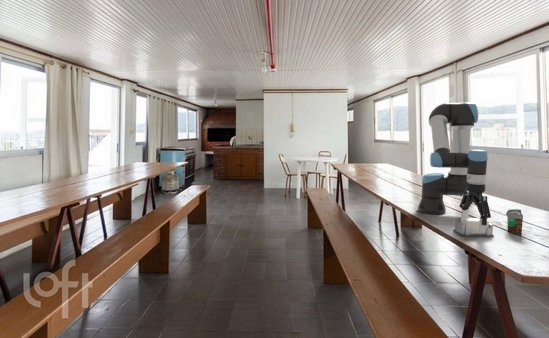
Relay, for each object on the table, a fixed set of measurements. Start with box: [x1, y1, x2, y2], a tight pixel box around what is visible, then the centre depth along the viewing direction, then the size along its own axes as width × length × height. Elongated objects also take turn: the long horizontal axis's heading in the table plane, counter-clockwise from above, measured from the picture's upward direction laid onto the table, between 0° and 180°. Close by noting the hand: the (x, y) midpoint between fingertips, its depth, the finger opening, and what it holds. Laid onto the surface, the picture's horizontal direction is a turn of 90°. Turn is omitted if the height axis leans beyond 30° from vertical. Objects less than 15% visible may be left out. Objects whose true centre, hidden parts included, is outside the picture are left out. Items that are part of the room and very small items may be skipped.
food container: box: [505, 208, 524, 236], centre depth 150 cm, size 12×6×10 cm, turn 145°
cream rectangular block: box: [460, 217, 490, 234], centre depth 148 cm, size 10×5×6 cm, turn 85°
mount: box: [452, 220, 495, 238], centre depth 148 cm, size 14×9×6 cm, turn 88°
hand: (473, 227), depth 148 cm, fingers open, 13 cm apart
